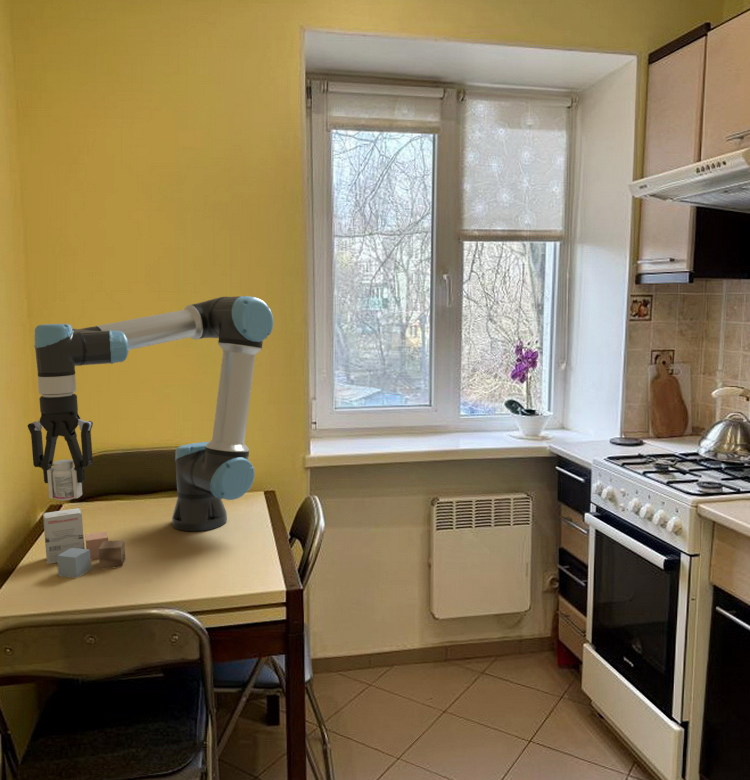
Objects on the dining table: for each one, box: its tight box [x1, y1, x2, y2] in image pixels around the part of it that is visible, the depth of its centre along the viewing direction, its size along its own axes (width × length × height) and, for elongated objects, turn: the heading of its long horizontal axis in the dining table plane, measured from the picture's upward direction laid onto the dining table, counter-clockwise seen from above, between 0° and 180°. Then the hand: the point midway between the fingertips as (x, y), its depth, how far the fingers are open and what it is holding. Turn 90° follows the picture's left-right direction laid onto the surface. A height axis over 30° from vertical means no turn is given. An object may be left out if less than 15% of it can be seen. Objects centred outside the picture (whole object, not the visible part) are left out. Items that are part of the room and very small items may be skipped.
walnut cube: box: [98, 539, 126, 570], centre depth 162 cm, size 5×5×5 cm
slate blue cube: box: [56, 548, 92, 579], centre depth 156 cm, size 5×5×5 cm
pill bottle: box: [52, 458, 75, 501], centre depth 150 cm, size 5×5×8 cm
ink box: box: [42, 507, 86, 565], centre depth 165 cm, size 9×5×12 cm, turn 118°
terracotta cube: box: [84, 530, 109, 560], centre depth 167 cm, size 5×5×5 cm
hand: (66, 496), depth 150 cm, fingers closed on pill bottle, 5 cm apart
